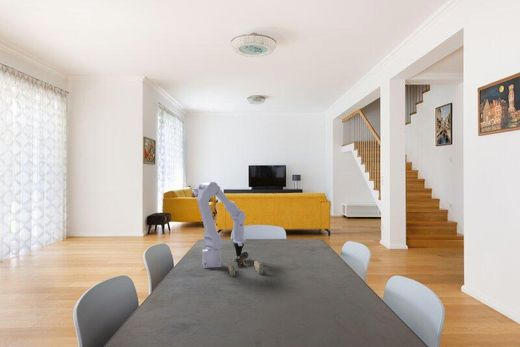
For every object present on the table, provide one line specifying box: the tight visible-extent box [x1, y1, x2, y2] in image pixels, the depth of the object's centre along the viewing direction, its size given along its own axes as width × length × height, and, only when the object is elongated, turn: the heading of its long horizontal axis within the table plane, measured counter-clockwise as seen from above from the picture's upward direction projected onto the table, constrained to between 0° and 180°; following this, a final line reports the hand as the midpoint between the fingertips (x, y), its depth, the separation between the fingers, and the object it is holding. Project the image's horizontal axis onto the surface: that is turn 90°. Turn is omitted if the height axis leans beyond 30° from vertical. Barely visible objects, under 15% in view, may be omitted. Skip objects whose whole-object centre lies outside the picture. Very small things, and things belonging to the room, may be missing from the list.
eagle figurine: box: [233, 251, 249, 268], centre depth 166 cm, size 8×7×9 cm
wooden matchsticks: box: [227, 260, 264, 278], centre depth 154 cm, size 16×14×5 cm
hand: (238, 256), depth 176 cm, fingers closed
